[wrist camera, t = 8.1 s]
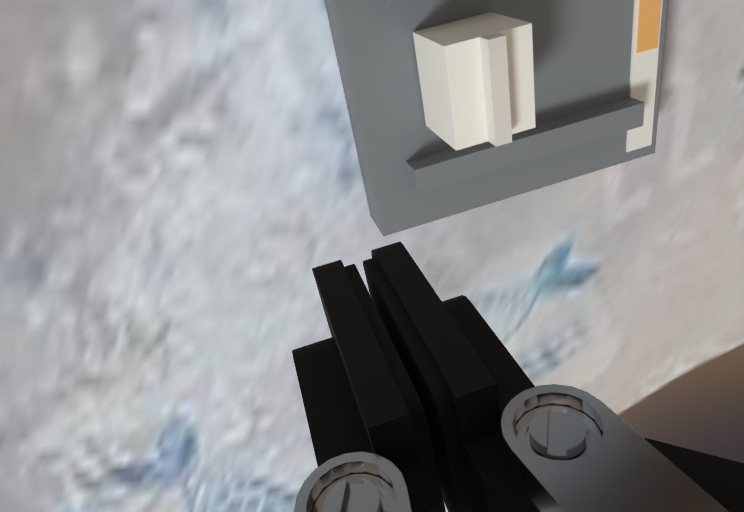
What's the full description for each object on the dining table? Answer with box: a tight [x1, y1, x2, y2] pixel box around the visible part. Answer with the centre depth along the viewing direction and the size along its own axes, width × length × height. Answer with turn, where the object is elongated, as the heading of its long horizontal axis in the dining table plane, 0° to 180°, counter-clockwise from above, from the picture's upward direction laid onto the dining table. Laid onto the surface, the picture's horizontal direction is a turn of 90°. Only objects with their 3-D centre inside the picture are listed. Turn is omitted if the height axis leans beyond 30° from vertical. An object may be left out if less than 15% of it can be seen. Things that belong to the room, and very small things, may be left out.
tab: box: [413, 12, 536, 151], centre depth 20 cm, size 4×3×4 cm
